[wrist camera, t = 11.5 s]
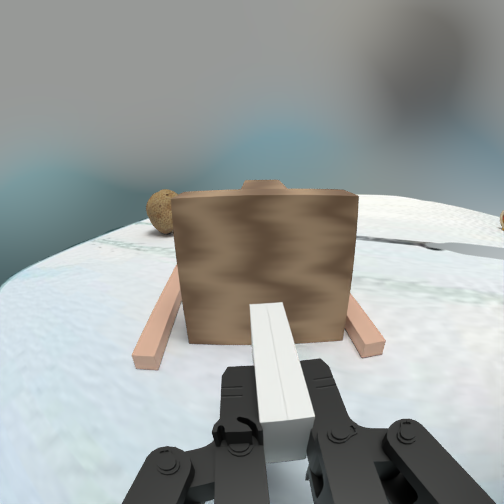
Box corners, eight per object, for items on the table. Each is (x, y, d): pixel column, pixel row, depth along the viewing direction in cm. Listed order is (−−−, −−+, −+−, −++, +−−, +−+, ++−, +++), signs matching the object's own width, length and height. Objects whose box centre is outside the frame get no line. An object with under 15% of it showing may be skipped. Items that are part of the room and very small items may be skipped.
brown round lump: (172, 226, 68) (169, 186, 64) (196, 230, 62) (193, 186, 59) (142, 235, 61) (137, 192, 57) (164, 240, 56) (159, 192, 52)
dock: (322, 268, 40) (323, 258, 40) (381, 354, 21) (385, 340, 21) (177, 274, 39) (176, 264, 39) (136, 368, 20) (131, 355, 20)
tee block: (315, 278, 37) (318, 180, 33) (342, 340, 24) (358, 195, 20) (211, 279, 37) (204, 182, 33) (189, 343, 24) (170, 198, 20)
